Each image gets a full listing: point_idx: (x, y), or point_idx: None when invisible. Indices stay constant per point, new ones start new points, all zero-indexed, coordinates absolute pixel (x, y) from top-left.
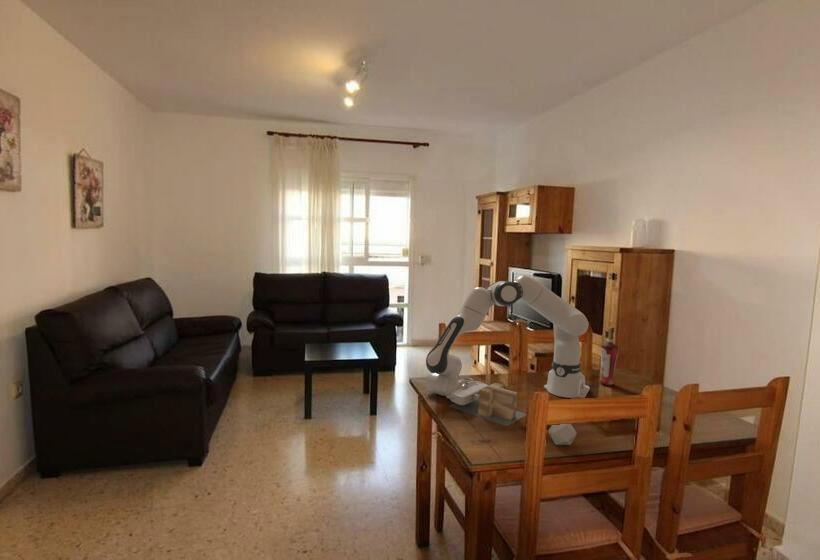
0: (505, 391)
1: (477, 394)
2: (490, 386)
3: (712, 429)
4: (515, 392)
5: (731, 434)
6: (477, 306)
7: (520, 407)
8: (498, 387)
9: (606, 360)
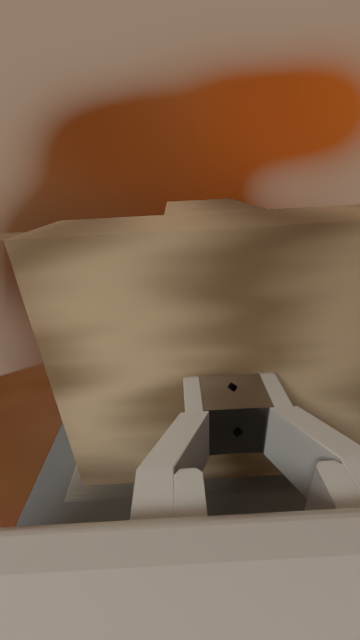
0: (209, 204)
1: (328, 466)
2: (217, 222)
3: (6, 238)
4: (173, 202)
5: (17, 234)
6: None
7: (12, 376)
8: (170, 214)
9: None
